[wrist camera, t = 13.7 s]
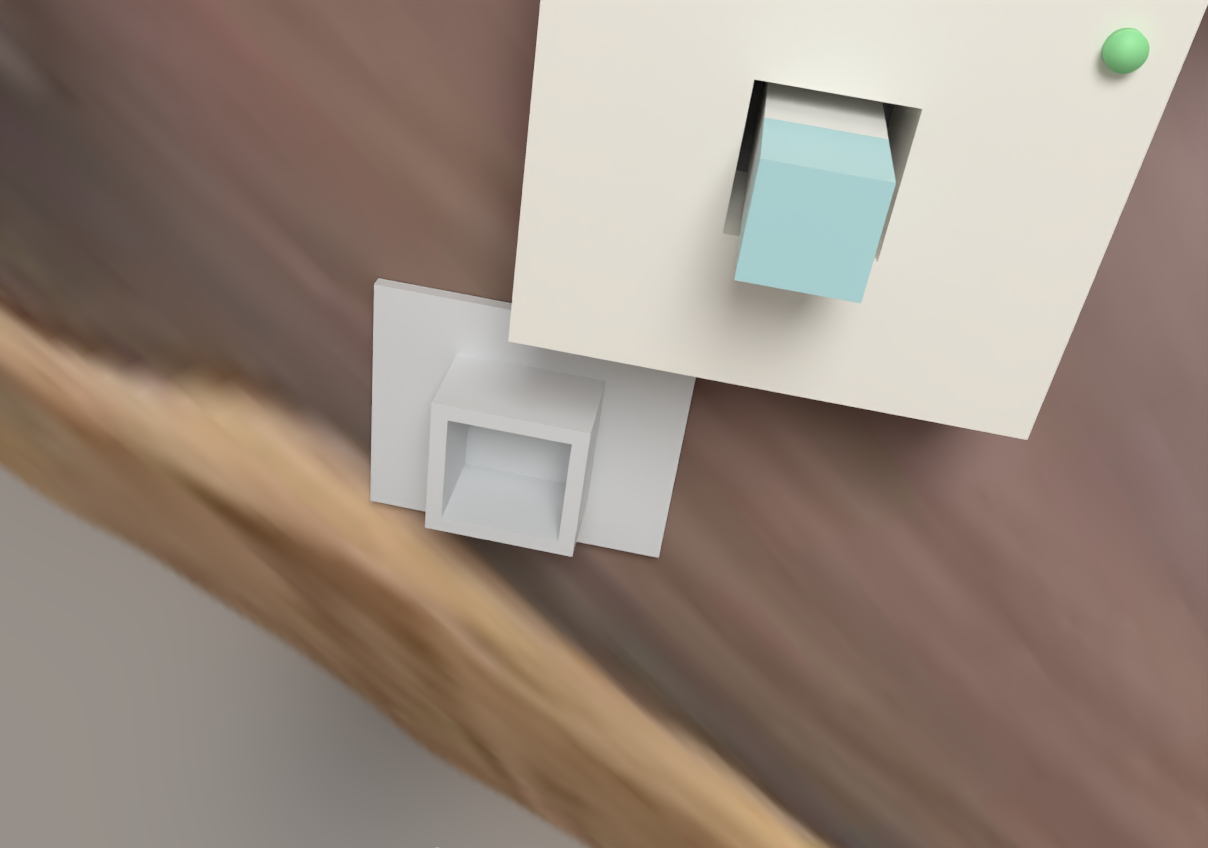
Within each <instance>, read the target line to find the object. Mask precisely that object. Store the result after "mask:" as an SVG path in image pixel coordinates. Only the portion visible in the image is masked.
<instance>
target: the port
mask: <svg viewBox="0 0 1208 848" xmlns="http://www.w3.org/2000/svg"><path fill="white" fill-rule="evenodd" d="M1207 5H1208V0H540V11H539V22H538V32H537V43H536V53H535V64H534V74H533V85H532V95H531V106H530V116H529V127H528V138H527V148H526V159H525V169H524V180H523V190H522V201H521V211H520V222H519V233H518V243H517V254H516V264H515V275H514V285H513V296H512V306H511V317H510V328H509V338H508V341H509V342H514V343H519V344H525V345H530V346H535V347H540V348H546V349H551V350H556V351H561V352H567V353H572V354H577V355H583V356H588V357H593V358H598V359H604V360H609V361H614V362H619V363H625V364H630V365H635V366H641V367H646V368H651V369H656V370H662V371H667V372H672V373H677V374H683V375H688V376H693V377H699V378H704V379H709V380H714V381H720V382H725V383H730V384H735V385H741V386H746V387H751V388H757V389H762V390H767V391H772V392H778V393H783V394H788V395H793V396H799V397H804V398H809V399H814V400H820V401H825V402H830V403H836V404H841V405H846V406H851V407H857V408H862V409H867V410H872V411H878V412H883V413H888V414H894V415H899V416H904V417H909V418H915V419H920V420H925V421H930V422H936V423H941V424H946V425H952V426H957V427H962V428H967V429H973V430H978V431H983V432H988V433H994V434H999V435H1004V436H1009V437H1015V438H1020V439H1025V440H1027V439H1028V437H1029V434H1030V432H1031V429H1032V427H1033V425H1034V422H1035V420H1036V417H1037V415H1038V413H1039V410H1040V408H1041V405H1042V403H1043V400H1044V398H1045V396H1046V393H1047V391H1048V388H1049V386H1050V384H1051V381H1052V379H1053V376H1054V374H1055V372H1056V369H1057V367H1058V364H1059V362H1060V360H1061V357H1062V355H1063V352H1064V350H1065V347H1066V345H1067V343H1068V340H1069V338H1070V335H1071V333H1072V331H1073V328H1074V326H1075V323H1076V321H1077V319H1078V316H1079V314H1080V311H1081V309H1082V306H1083V304H1084V302H1085V299H1086V297H1087V294H1088V292H1089V290H1090V287H1091V285H1092V282H1093V280H1094V278H1095V275H1096V273H1097V270H1098V268H1099V265H1100V263H1101V261H1102V258H1103V256H1104V253H1105V251H1106V249H1107V246H1108V244H1109V241H1110V239H1111V237H1112V234H1113V232H1114V229H1115V227H1116V225H1117V222H1118V220H1119V217H1120V215H1121V212H1122V210H1123V208H1124V205H1125V203H1126V200H1127V198H1128V196H1129V193H1130V191H1131V188H1132V186H1133V184H1134V181H1135V179H1136V176H1137V174H1138V171H1139V169H1140V167H1141V164H1142V162H1143V159H1144V157H1145V155H1146V152H1147V150H1148V147H1149V145H1150V143H1151V140H1152V138H1153V135H1154V133H1155V130H1156V128H1157V126H1158V123H1159V121H1160V118H1161V116H1162V114H1163V111H1164V109H1165V106H1166V104H1167V102H1168V99H1169V97H1170V94H1171V92H1172V90H1173V87H1174V85H1175V82H1176V80H1177V77H1178V75H1179V73H1180V70H1181V68H1182V65H1183V63H1184V61H1185V58H1186V56H1187V53H1188V51H1189V49H1190V46H1191V44H1192V41H1193V39H1194V36H1195V34H1196V32H1197V29H1198V27H1199V24H1200V22H1201V20H1202V17H1203V15H1204V12H1205V10H1206V8H1207ZM765 81H766V82H771V83H777V84H783V85H789V86H794V87H800V88H806V89H811V90H817V91H823V92H828V93H834V94H840V95H845V96H851V97H857V98H862V99H868V100H874V101H880V102H882V103H883V109H884V115H885V121H886V127H887V133H888V139H889V145H890V150H891V156H892V162H893V168H894V174H895V180H896V185H895V188H894V192H893V195H892V199H891V202H890V206H889V209H888V213H887V216H886V219H885V223H884V226H883V230H882V233H881V237H880V240H879V244H878V247H877V250H876V254H875V257H874V261H873V264H872V268H871V271H870V275H869V278H868V281H867V285H866V288H865V292H864V295H863V299H862V302H861V303H856V302H851V301H845V300H840V299H834V298H829V297H824V296H818V295H813V294H807V293H802V292H797V291H791V290H786V289H780V288H775V287H770V286H764V285H759V284H753V283H748V282H742V281H737V280H734V277H735V269H736V261H737V253H738V244H739V236H740V228H741V220H742V212H743V204H744V195H745V187H746V179H747V171H748V163H749V154H750V150H751V145H752V140H753V135H754V131H755V126H756V121H757V116H758V112H759V107H760V102H761V97H762V92H763V88H764V83H765Z"/></svg>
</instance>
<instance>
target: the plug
mask: <svg viewBox="0 0 1208 848" xmlns="http://www.w3.org/2000/svg"><path fill="white" fill-rule="evenodd" d="M895 185H896V180H895V174H894V168H893V162H892V156H891V150H890V145H889V139H888V133H887V127H886V121H885V115H884V109H883V103H882V102H880V101H874V100H868V99H862V98H857V97H851V96H845V95H840V94H834V93H828V92H823V91H817V90H811V89H806V88H800V87H794V86H789V85H783V84H777V83H771V82H766V81H765V83H764V88H763V92H762V97H761V102H760V107H759V112H758V116H757V121H756V126H755V131H754V135H753V140H752V145H751V150H750V154H749V163H748V171H747V179H746V187H745V195H744V204H743V212H742V220H741V228H740V236H739V244H738V253H737V261H736V269H735V277H734V280H737V281H742V282H748V283H753V284H759V285H764V286H770V287H775V288H780V289H786V290H791V291H797V292H802V293H807V294H813V295H818V296H824V297H829V298H834V299H840V300H845V301H851V302H856V303H861V302H862V299H863V295H864V292H865V288H866V285H867V281H868V278H869V275H870V271H871V268H872V264H873V261H874V257H875V254H876V250H877V247H878V244H879V240H880V237H881V233H882V230H883V226H884V223H885V219H886V216H887V213H888V209H889V206H890V202H891V199H892V195H893V192H894V188H895Z"/></svg>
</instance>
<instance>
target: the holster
mask: <svg viewBox="0 0 1208 848" xmlns="http://www.w3.org/2000/svg"><path fill="white" fill-rule="evenodd" d="M511 306H512V303H508V302H503V301H497V300H492V299H487V298H481V297H476V296H471V295H465V294H460V293H455V292H449V291H444V290H439V289H433V288H428V287H423V286H418V285H412V284H407V283H402V282H396V281H391V280H386V279H380V278H378V280H377V281H376V282H375V284H374V324H373V381H372V438H371V495H370V501H374V502H379V503H384V504H390V505H395V506H400V507H405V508H410V509H415V510H420V511H425V512H426V516H425V528H430V529H435V530H440V531H445V532H450V533H455V534H460V535H465V536H470V537H475V538H480V539H485V540H490V541H495V542H500V543H505V544H510V545H515V546H520V547H525V548H530V549H535V550H540V551H545V552H550V553H555V554H561V555H566V556H571V557H572V556H573V553H574V549H575V545H576V542H581V543H586V544H591V545H596V546H601V547H606V548H611V549H617V550H622V551H627V552H632V553H637V554H642V555H647V556H652V557H657V558H659V553H660V548H661V544H662V539H663V534H664V529H665V524H666V519H667V514H668V510H669V505H670V500H671V495H672V490H673V485H674V481H675V476H676V471H677V466H678V461H679V456H680V451H681V447H682V442H683V437H684V432H685V427H686V422H687V417H688V413H689V408H690V403H691V398H692V393H693V388H694V384H695V379H696V377H693V376H688V375H683V374H677V373H672V372H667V371H662V370H656V369H651V368H646V367H641V366H635V365H630V364H625V363H619V362H614V361H609V360H604V359H598V358H593V357H588V356H583V355H577V354H572V353H567V352H561V351H556V350H551V349H546V348H540V347H535V346H530V345H525V344H519V343H514V342H509V341H508V338H509V328H510V317H511Z"/></svg>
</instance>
